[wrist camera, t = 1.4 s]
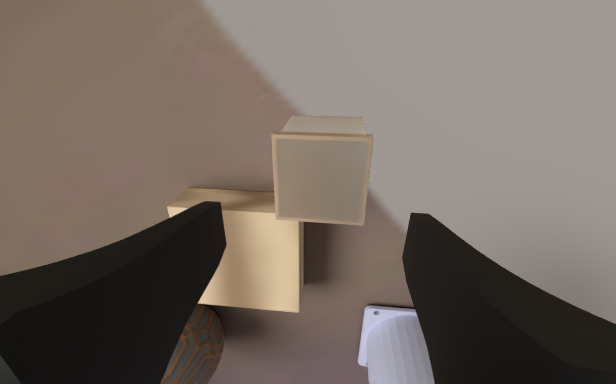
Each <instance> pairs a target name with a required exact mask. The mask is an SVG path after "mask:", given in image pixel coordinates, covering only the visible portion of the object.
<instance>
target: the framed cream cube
mask: <svg viewBox="0 0 616 384" xmlns="http://www.w3.org/2000/svg"><path fill="white" fill-rule="evenodd" d="M372 146H373V136H372V135H367V134H366V131H365V127H364V124H363V120H362V117H333V116H331V117H330V116H298V115H293V116H292V117H291V118H290V120H289V121H288V122H287V124H286V125H285V127H284V128H283V129H282V131H274V132H273V133H272V154H273V174H274V194H275V215H276V220H287V221H303V222H319V223H334V224H350V225H364V218H365V209H366V200H367V191H368V182H369V173H370V164H371V154H372Z"/></svg>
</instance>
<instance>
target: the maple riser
mask: <svg viewBox="0 0 616 384" xmlns="http://www.w3.org/2000/svg"><path fill="white" fill-rule="evenodd" d="M204 201H216V202H221V208H222V215H223V222H224V229H225V236H226V243H227V246H226V248H225V251H224V254H223V257H222V259H221V261H220V264H219V266H218V268H217V270H216V272H215V274H214V275H213V277H212V279H211V281H210V283H209V284H208V286H207V288H206V290H205V291H204V293H203V295H202V297H201V298H200V300H199V302H198V303H199V304H210V305H221V306H232V307H243V308H254V309H265V310H276V311H287V312H298V313H299V311H300V305H301V299H302V292H303V286H304V222H303V221H287V220H276V215H275V194H274V192H256V191H238V190H219V189H201V188H187V189H186V190H185V191H184V192H183V193H182V194H181V195H180V196H178V197H177V198H176V199H175V200H174V201H173V202H172V203H171V204H170V205H169V206H167V208H168V212H169V217H172V216H174V215H176V214H178V213H180V212H182V211H184V210H186V209H188V208H190V207H192V206H194V205H197V204H199V203H201V202H204Z"/></svg>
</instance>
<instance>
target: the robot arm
mask: <svg viewBox="0 0 616 384" xmlns="http://www.w3.org/2000/svg"><path fill="white" fill-rule="evenodd" d="M226 246H227V243H226V236H225V229H224V222H223V215H222V208H221V202H216V201H204V202H201V203H199V204H197V205H194V206H192V207H190V208H188V209H186V210H184V211H182V212H180V213H178V214H176V215H174V216H172V217H170V218H168V219H166V220H164V221H162V222H160V223H158V224H156V225H154V226H152V227H150V228H147V229H145V230H143V231H141V232H139V233H137V234H134V235H132V236H130V237H127V238H125V239H123V240H120V241H118V242H115V243H112V244H110V245H107V246H104V247H102V248H99V249H96V250H93V251H90V252H87V253H84V254H81V255H78V256H74V257H71V258H68V259H65V260H62V261H58V262H55V263H51V264H48V265H44V266H40V267H36V268H33V269H28V270H24V271H20V272H16V273H12V274H7V275H3V276H0V384H160V383H161V381H162V379H163V376H164V374H165V371H166V369H167V366H168V364H169V362H170V359H171V357H172V354H173V352H174V350H175V347H176V345H177V343H178V341H179V338H180V336H181V334H182V332H183V329H184V327H185V325H186V323H187V321H188V320H189V318H190V316H191V314H192V312H193V310H194V309H195V307H196V305H197V304H198V302H199V300H200V298H201V297H202V295H203V293H204V291H205V290H206V288H207V286H208V284H209V283H210V281H211V279H212V277H213V275H214V274H215V272H216V270H217V268H218V266H219V264H220V261H221V259H222V257H223V254H224V251H225V248H226ZM402 258H403V265H404V271H405V277H406V282H407V285H408V288H409V292H410V295H411V298H412V301H413V304H414V307H415V309H406V308H395V307H383V306H372V305H370V306H367V307H365V311H364V319H363V326H362V333H361V341H360V348H359V356H358V363H359V365H361V366H368V377H369V384H616V324H614V323H612V322H609V321H607V320H605V319H602V318H600V317H597V316H595V315H593V314H591V313H589V312H587V311H584V310H582V309H580V308H578V307H576V306H573V305H571V304H569V303H567V302H565V301H563V300H561V299H559V298H557V297H555V296H553V295H551V294H549V293H547V292H545V291H543V290H541V289H540V288H538V287H536V286H534V285H532V284H530V283H529V282H527V281H525V280H523V279H521V278H520V277H518V276H516V275H515V274H513V273H511V272H510V271H508V270H506V269H505V268H503V267H501V266H500V265H498V264H497V263H495V262H494V261H492V260H491V259H489V258H488V257H486V256H485V255H483V254H482V253H480V252H479V251H477V250H476V249H475V248H473V247H472V246H471V245H469V244H468V243H466V242H465V241H464V240H462V239H461V238H460V237H458V236H457V235H456V234H455V233H453V232H452V231H451V230H449V229H448V228H447V227H446V226H444V225H443V224H442V223H440V222H439V221H438V220H436V219H435V218H434V217H432V216H431V215H429V214H423V213H422V214H421V213H411V215H410V220H409V225H408V231H407V236H406V241H405V246H404V251H403V257H402ZM375 311H378V312H375Z"/></svg>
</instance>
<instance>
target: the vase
mask: <svg viewBox="0 0 616 384" xmlns="http://www.w3.org/2000/svg"><path fill="white" fill-rule="evenodd" d="M223 346H224V329H223V326H222V323H221V321H220V319H219V317H218V316H217V314H216V313H215V312H214V311H213V310H212V309H210V308H209V307H207V306H205V305H202V304H197V305H196V307H195V309H194V310H193V312H192V314H191V316H190V318H189V320H188V321H187V323H186V325H185V327H184V329H183V332H182V334H181V336H180V338H179V341H178V343H177V345H176V347H175V350H174V352H173V354H172V357H171V359H170V362H169V364H168V366H167V369H166V371H165V374H164V376H163V379H162V381H161V383H160V384H207V383H208V382H209V380H210V379H211V377H212V376H213V374H214V372H215V371H216V369H217V366H218V364H219V361H220V358H221V355H222V352H223Z"/></svg>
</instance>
